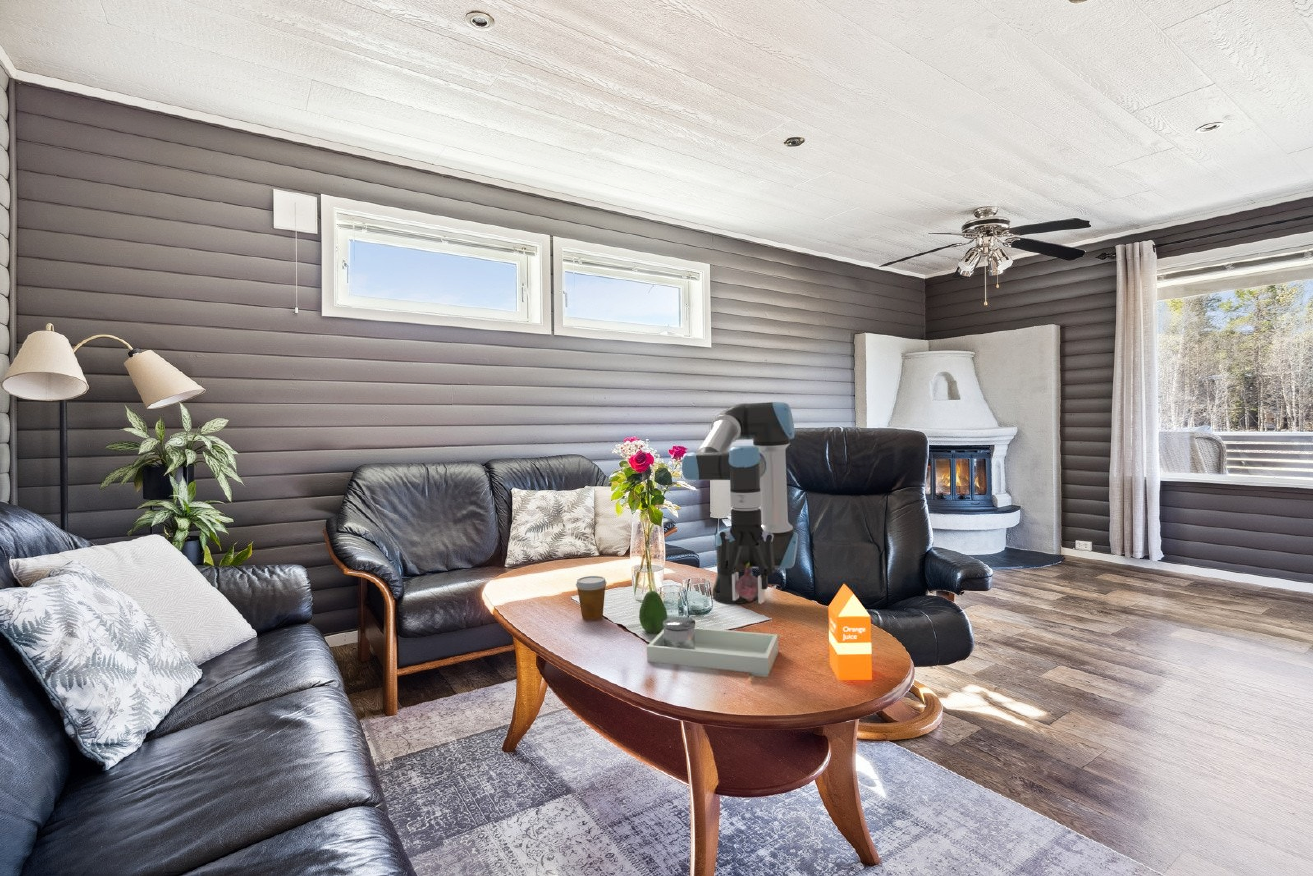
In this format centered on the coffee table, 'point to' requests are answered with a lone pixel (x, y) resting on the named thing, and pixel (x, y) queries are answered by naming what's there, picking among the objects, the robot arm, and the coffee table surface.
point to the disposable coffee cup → (591, 597)
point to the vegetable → (747, 585)
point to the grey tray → (721, 651)
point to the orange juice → (849, 637)
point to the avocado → (652, 613)
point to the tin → (679, 632)
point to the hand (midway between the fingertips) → (748, 600)
